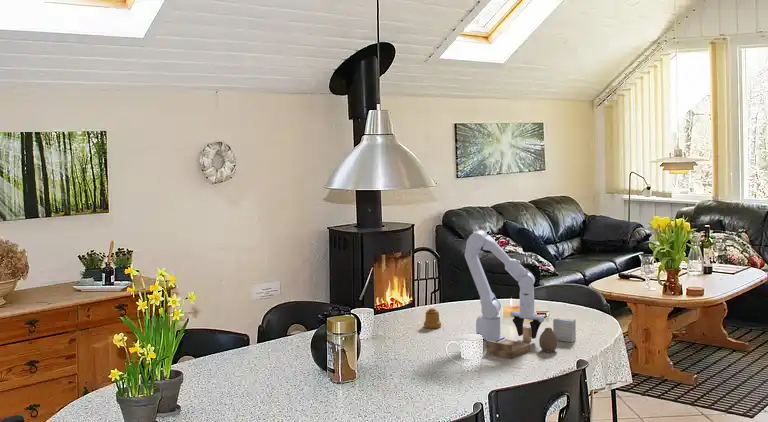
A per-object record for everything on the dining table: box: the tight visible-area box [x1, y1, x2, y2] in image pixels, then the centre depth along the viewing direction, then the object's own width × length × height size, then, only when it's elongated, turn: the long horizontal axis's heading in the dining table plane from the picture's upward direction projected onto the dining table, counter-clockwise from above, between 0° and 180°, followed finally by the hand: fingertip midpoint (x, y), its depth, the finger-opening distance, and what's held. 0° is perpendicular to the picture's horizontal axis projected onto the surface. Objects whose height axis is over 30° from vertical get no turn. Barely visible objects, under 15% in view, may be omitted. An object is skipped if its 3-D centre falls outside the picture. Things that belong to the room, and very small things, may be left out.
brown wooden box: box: [485, 338, 531, 360], centre depth 298 cm, size 11×13×5 cm
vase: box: [538, 327, 559, 353], centre depth 298 cm, size 7×7×9 cm
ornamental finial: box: [423, 307, 442, 330], centre depth 336 cm, size 8×8×8 cm
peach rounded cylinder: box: [522, 325, 532, 343], centre depth 312 cm, size 3×3×6 cm
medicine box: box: [552, 316, 577, 343], centre depth 312 cm, size 8×4×9 cm, turn 58°
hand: (527, 336), depth 312 cm, fingers open, 6 cm apart
